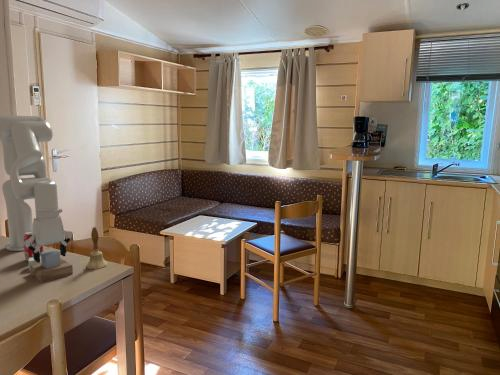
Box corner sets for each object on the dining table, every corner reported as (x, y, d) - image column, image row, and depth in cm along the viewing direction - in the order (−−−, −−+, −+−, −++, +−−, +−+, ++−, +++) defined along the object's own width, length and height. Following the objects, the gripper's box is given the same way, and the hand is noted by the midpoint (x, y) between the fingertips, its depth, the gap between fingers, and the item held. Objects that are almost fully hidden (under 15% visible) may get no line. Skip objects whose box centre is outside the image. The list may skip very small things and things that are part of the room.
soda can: (48, 257, 163) (46, 230, 161) (37, 263, 156) (35, 235, 154) (32, 256, 164) (30, 229, 161) (21, 262, 157) (18, 234, 155)
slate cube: (41, 265, 145) (40, 252, 144) (55, 261, 149) (54, 249, 148) (46, 268, 142) (45, 255, 141) (60, 265, 145) (59, 252, 144)
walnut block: (31, 275, 145) (30, 265, 145) (60, 267, 153) (60, 257, 153) (42, 283, 138) (41, 273, 137) (72, 274, 146) (72, 265, 146)
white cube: (30, 267, 152) (29, 257, 151) (41, 265, 154) (40, 256, 153) (29, 270, 148) (28, 261, 148) (40, 269, 150) (40, 259, 149)
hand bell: (91, 271, 149) (89, 231, 147) (82, 265, 155) (80, 227, 152) (111, 265, 155) (109, 227, 153) (101, 260, 161) (100, 223, 158)
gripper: (66, 208, 151) (69, 250, 154) (17, 216, 138) (21, 261, 141) (75, 212, 146) (77, 255, 149) (25, 220, 133) (29, 267, 136)
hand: (50, 258), depth 145 cm, fingers open, 8 cm apart
